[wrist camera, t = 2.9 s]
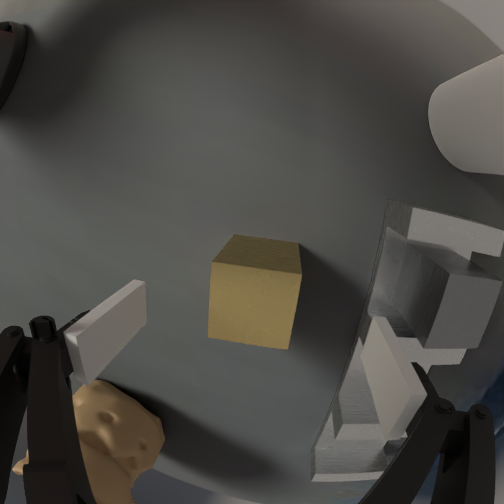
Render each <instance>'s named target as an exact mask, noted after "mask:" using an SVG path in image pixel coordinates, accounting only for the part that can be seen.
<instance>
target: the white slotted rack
mask: <svg viewBox="0 0 504 504" xmlns="http://www.w3.org/2000/svg"><path fill="white" fill-rule="evenodd" d="M503 242H504V231H503V230H501V229H498V228H495V227H493V226H490V225H487V224H484V223H482V222H479V221H476V220H473V219H470V218H466V217H462V216H458V215H455V214H451V213H447V212H443V211H439V210H435V209H430V208H426V207H422V206H418V205H413V204H409V203H404V202H399V201H394V200H390V199H387V204H386V210H385V216H384V222H383V227H382V233H381V238H380V243H379V247H378V252H377V257H376V261H375V266H374V270H373V274H372V278H371V282H370V286H369V290H368V294H367V298H366V301H365V305H364V309H363V312H362V316H361V319H360V323H359V326H358V329H357V332H356V336H355V339H354V342H353V345H352V348H351V351H350V354H349V357H348V360H347V363H346V366H345V369H344V371H343V374H342V377H341V380H340V382H339V385H338V388H337V390H336V393H335V395H334V398H333V400H332V403H331V405H330V408H329V410H328V413H327V415H326V417H325V420H324V422H323V424H322V427H321V429H320V431H319V433H318V436H317V438H316V440H315V442H314V444H313V446H312V449H311V481H358V480H371V479H379V477H380V476H381V475H382V473H383V472H384V471H385V469H386V468H387V467H388V464H387V460H386V456H385V451H384V445H385V444H386V442H387V441H388V440H384V437H383V434H382V430H381V426H380V422H379V418H378V415H377V411H376V407H375V404H374V400H373V397H372V393H371V390H370V387H369V383H368V380H367V377H366V373H365V370H364V367H363V364H362V360H361V357H360V356H361V353H362V350H363V347H364V344H365V341H366V338H367V335H368V332H369V329H370V325H371V322H372V319H373V316H377V317H385V318H386V319H387V321H388V323H389V324H390V326H391V328H392V330H393V331H394V333H395V335H396V337H397V338H398V340H399V342H400V344H401V345H402V347H403V349H404V351H405V353H406V355H407V356H408V358H409V360H410V362H417V363H418V364H419V365H420V366H421V367H423V369H424V370H425V372H426V374H427V373H428V371H429V369H430V367H431V365H450V364H460V363H461V361H462V359H463V356H464V354H465V352H466V350H467V349H471V348H477V347H478V345H479V343H480V341H481V338H482V336H483V334H484V332H485V329H486V327H487V324H488V322H489V319H490V317H491V314H492V312H493V309H494V306H495V303H496V301H497V298H498V295H499V292H500V289H501V286H502V283H503V281H501V280H500V279H498V278H497V277H495V276H494V275H492V274H491V273H489V272H487V271H486V270H484V269H483V268H481V267H479V266H478V265H476V264H475V263H473V262H471V261H470V257H471V253H472V251H473V252H478V253H483V254H487V255H492V256H497V257H500V255H501V250H502V246H503ZM402 437H407V434H406V431H405V432H404V434H403V435H402ZM402 437H401V438H402Z"/></svg>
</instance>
